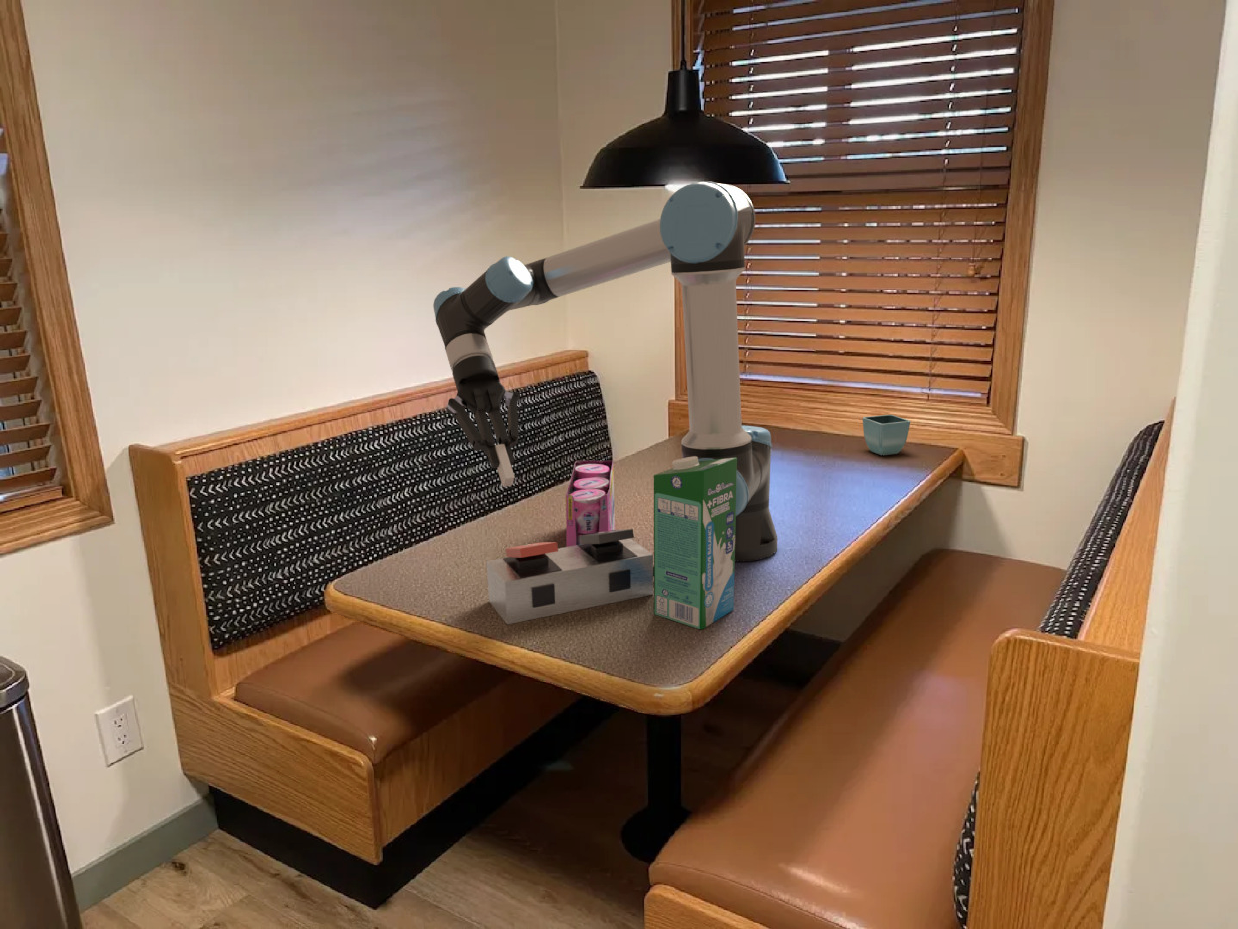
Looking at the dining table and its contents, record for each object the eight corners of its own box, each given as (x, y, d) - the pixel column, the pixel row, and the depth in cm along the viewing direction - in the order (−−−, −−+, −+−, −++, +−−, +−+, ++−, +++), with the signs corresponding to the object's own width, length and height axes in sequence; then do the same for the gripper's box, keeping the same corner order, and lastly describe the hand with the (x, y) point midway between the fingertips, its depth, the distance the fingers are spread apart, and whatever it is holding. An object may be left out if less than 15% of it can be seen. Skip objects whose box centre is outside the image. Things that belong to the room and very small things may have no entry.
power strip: (664, 567, 159) (664, 523, 156) (691, 587, 150) (691, 541, 148) (488, 601, 146) (486, 554, 143) (507, 625, 137) (505, 575, 135)
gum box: (610, 570, 158) (608, 497, 154) (565, 570, 158) (562, 497, 154) (615, 525, 181) (614, 459, 177) (576, 525, 181) (574, 460, 177)
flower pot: (859, 450, 234) (861, 416, 231) (888, 447, 236) (891, 414, 234) (878, 458, 225) (880, 423, 223) (908, 455, 228) (911, 421, 226)
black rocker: (614, 538, 151) (613, 529, 151) (634, 537, 144) (632, 528, 144) (581, 544, 149) (580, 535, 149) (599, 543, 142) (598, 534, 142)
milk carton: (686, 595, 147) (688, 447, 140) (734, 610, 141) (737, 456, 134) (653, 614, 140) (652, 459, 133) (701, 630, 135) (703, 469, 128)
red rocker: (541, 550, 146) (540, 541, 146) (558, 551, 139) (556, 541, 139) (506, 557, 144) (505, 547, 144) (521, 557, 136) (519, 548, 137)
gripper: (504, 375, 163) (540, 487, 153) (433, 382, 157) (466, 499, 147) (512, 350, 157) (551, 465, 147) (438, 356, 151) (474, 476, 141)
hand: (508, 482), depth 147 cm, fingers closed
